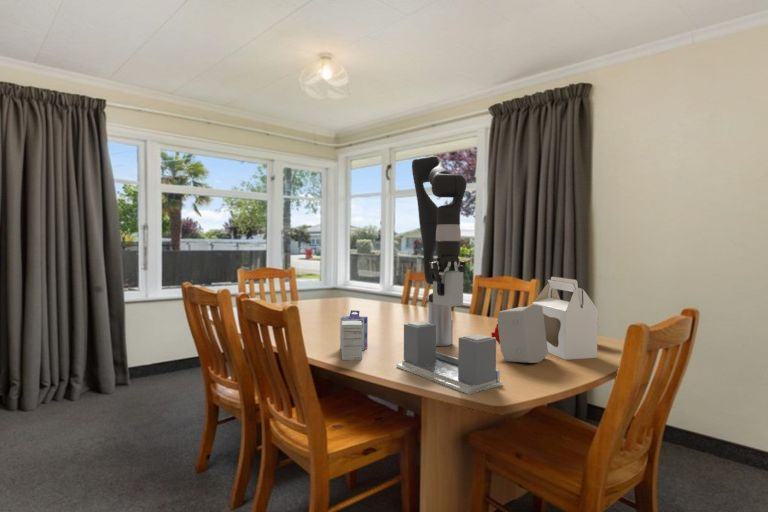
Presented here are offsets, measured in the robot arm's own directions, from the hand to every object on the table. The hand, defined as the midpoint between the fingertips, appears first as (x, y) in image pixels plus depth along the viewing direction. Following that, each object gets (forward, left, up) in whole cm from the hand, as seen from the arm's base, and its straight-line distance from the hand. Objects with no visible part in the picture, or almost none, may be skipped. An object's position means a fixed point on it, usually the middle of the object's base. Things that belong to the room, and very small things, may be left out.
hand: (447, 294), depth 136 cm
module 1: (0, -13, -23) cm, 26 cm away
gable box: (-57, +4, -26) cm, 63 cm away
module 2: (0, +12, -23) cm, 26 cm away
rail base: (0, 0, -25) cm, 25 cm away
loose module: (0, 0, -3) cm, 3 cm away
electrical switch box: (-35, 0, -25) cm, 44 cm away
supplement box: (+13, -35, -25) cm, 45 cm away
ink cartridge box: (+5, -46, -25) cm, 53 cm away
